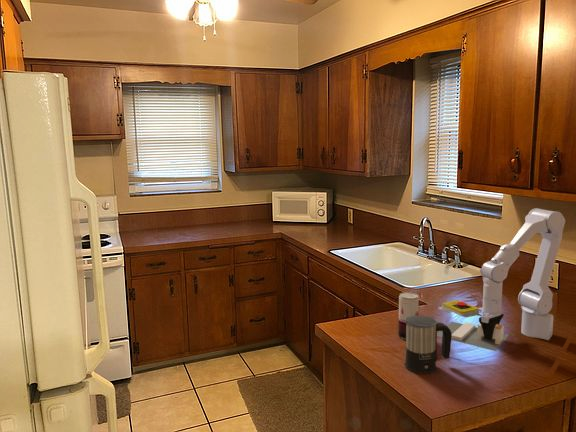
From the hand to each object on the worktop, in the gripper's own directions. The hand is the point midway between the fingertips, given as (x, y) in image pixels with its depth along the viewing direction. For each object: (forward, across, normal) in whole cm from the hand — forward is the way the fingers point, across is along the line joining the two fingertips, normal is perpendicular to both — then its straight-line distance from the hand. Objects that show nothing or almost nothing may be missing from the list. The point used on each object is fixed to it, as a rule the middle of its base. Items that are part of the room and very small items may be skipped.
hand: (490, 336), depth 157 cm
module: (+1, 0, 0) cm, 1 cm away
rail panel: (+2, 0, -6) cm, 6 cm away
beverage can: (+2, +12, -24) cm, 27 cm away
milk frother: (+2, +27, -13) cm, 30 cm away
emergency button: (+3, -22, -18) cm, 29 cm away
